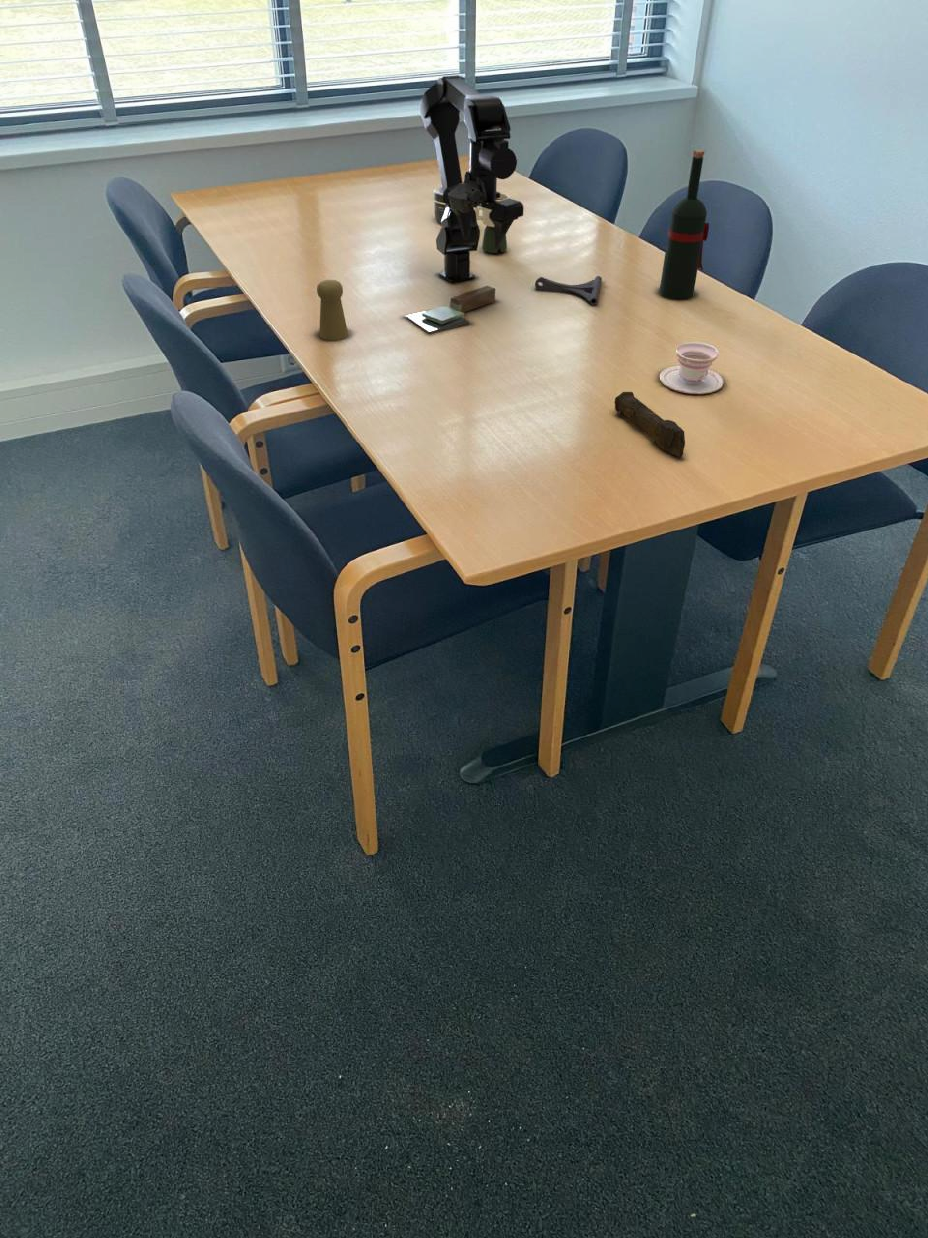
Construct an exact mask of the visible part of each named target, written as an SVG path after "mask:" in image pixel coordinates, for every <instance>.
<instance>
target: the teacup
mask: <svg viewBox="0 0 928 1238" xmlns="http://www.w3.org/2000/svg"><path fill="white" fill-rule="evenodd" d="M675 353H676V356H677V357H678V358H677V359H678V360H677V361H678V362H679V365H673V366H670V367H667V368H664V369H663V370H661V372H660V374H659V381H660V382H661V383H662V384H663V385H664V386H665V387H667V388H669V389H670V390H673V391H676V392H679V393H684V394H688V395H689V394H691V395H704V394H711V393H714V392H717V391H718V390H720V389H721V388H723V385H724V379H723V377H722V376H721V375H720V374H719V373H718V372H715V371H714V370H712V369H709V368H710V367H712V365H713V362H714V361H716V360H717V359H718V357H719V350H718V349H717V348H716V346H714V345H712V344H709V343H706V342H701V341H689V342H684V343H682V344H679V345H678V346H677V347H676V349H675Z"/></svg>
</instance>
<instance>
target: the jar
mask: <svg viewBox="0 0 928 1238" xmlns="http://www.w3.org/2000/svg"><path fill="white" fill-rule="evenodd" d="M433 203H434V205H433V207H434V218H435V220H436V221H437V222H438V223H439V224H441V220H442V217H443V214H444V212H445V203H443V189H442V186H440V187H438V188H436V189H435V190H434V192H433Z"/></svg>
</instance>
